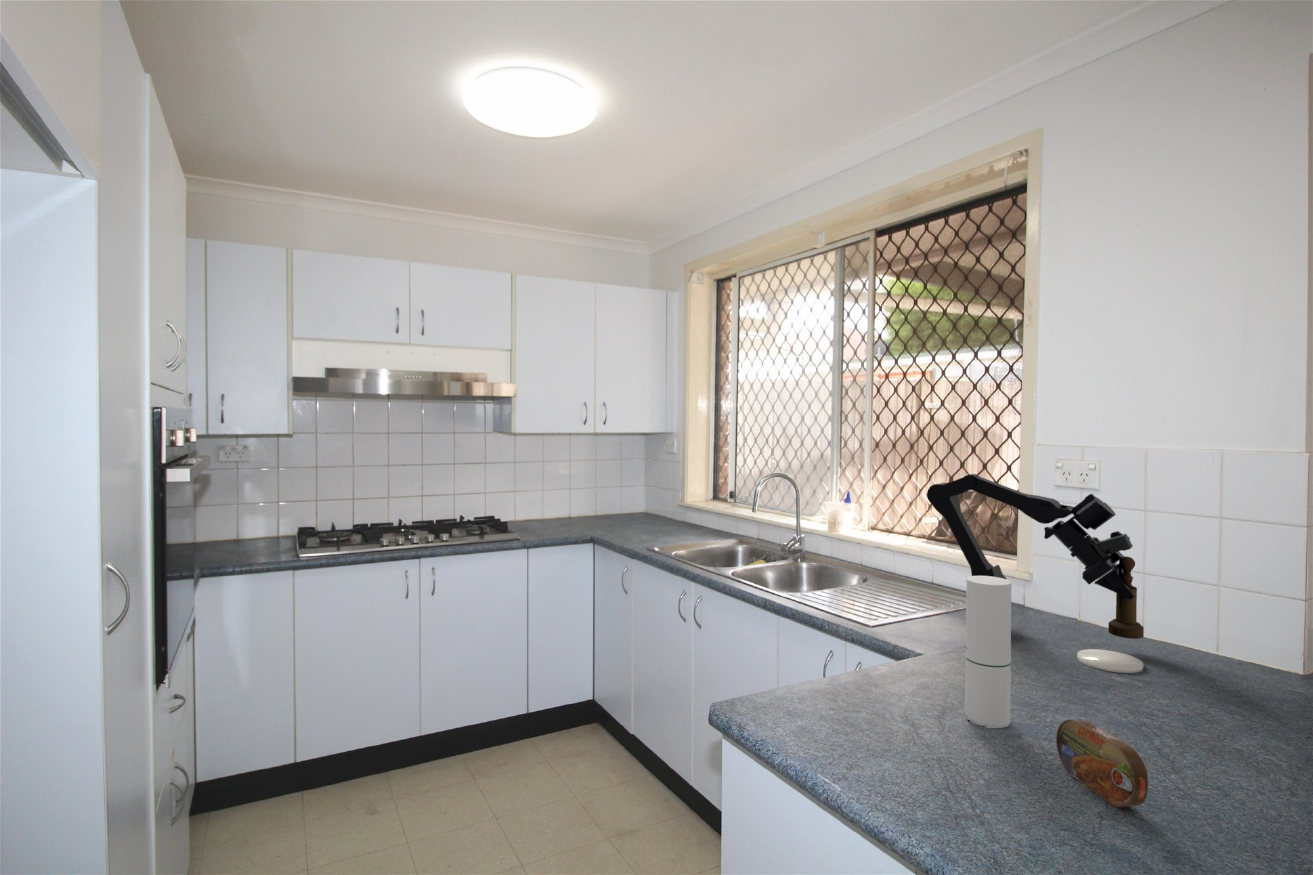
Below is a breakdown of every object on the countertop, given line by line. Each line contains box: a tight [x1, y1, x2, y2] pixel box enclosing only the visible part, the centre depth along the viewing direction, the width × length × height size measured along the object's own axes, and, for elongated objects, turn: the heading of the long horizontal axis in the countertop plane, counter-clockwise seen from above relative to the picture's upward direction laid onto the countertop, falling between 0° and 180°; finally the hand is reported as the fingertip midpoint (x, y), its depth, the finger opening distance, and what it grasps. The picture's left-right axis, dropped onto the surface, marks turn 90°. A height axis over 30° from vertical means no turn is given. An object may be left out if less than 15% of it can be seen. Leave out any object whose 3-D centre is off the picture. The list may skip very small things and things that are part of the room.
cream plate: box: [1076, 648, 1144, 674], centre depth 147 cm, size 12×12×1 cm
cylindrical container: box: [964, 575, 1012, 726], centre depth 119 cm, size 7×7×25 cm
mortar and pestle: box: [1107, 556, 1144, 640], centre depth 153 cm, size 7×6×18 cm
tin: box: [1055, 719, 1149, 808], centre depth 96 cm, size 15×3×8 cm, turn 5°
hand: (1133, 596), depth 152 cm, fingers closed on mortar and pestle, 4 cm apart
